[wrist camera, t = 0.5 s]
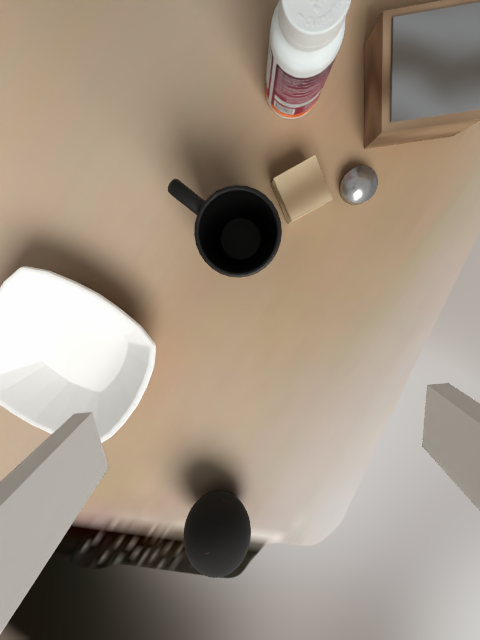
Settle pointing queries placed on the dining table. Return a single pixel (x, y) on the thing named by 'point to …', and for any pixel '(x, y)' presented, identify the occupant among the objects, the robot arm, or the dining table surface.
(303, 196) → the oak offcut
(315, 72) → the pill bottle
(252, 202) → the mug
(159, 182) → the dining table surface
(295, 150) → the dining table surface
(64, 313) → the bowl
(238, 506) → the speaker
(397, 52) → the walnut stand
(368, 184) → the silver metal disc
